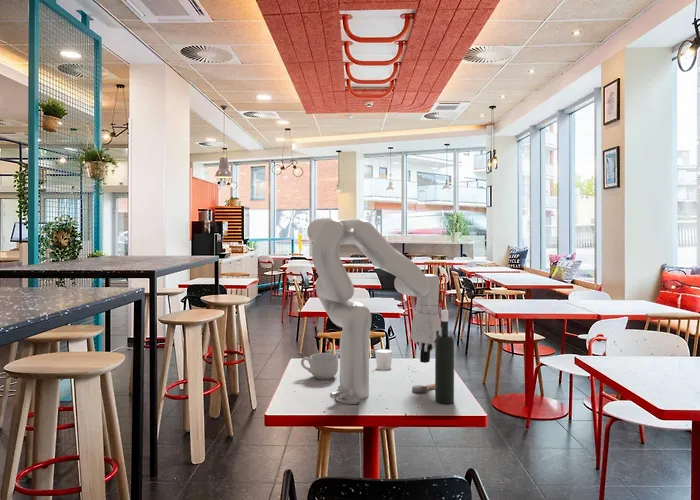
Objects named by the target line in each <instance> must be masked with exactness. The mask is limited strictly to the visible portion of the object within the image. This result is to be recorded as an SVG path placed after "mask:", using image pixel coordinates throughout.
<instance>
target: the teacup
mask: <svg viewBox="0 0 700 500" xmlns="http://www.w3.org/2000/svg"><path fill="white" fill-rule="evenodd" d="M304 361H308V364H309V367H308V366H306V364H305V363H304ZM300 365H301V366H302V368H304V370H306V371H308V373H310V374H311V375H312V377H315V379H317V380H325V381H326V380H331V379H333V378H334V376H336V374H337V373H338V370H339V369H338V368H339V356H338V355H337V354H335V353H330V352H319V353H314V354H311V355H310V356H305V357H302V359H301V361H300Z"/></svg>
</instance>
